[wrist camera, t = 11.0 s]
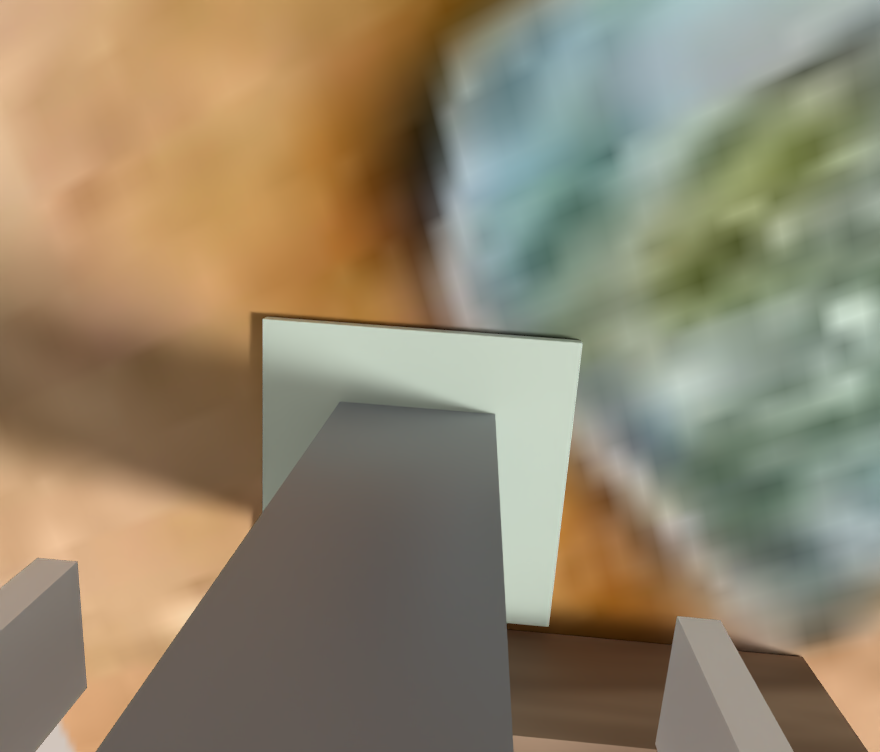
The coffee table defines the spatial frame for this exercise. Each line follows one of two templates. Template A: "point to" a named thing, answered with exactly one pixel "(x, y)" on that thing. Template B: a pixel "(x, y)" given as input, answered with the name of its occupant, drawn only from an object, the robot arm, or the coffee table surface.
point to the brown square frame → (644, 696)
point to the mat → (445, 388)
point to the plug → (351, 605)
